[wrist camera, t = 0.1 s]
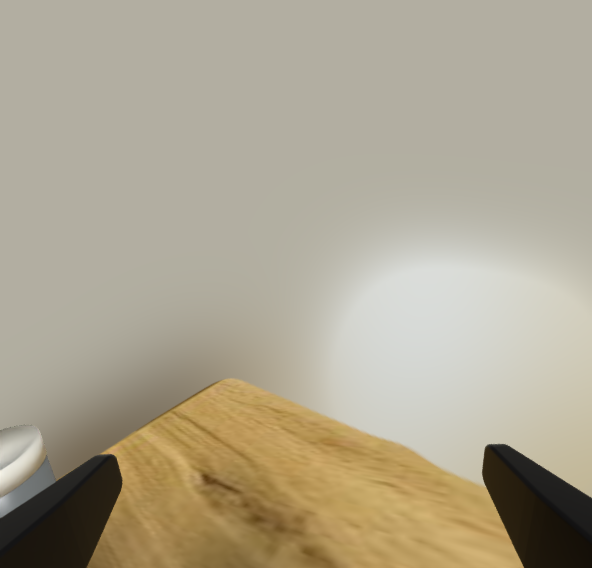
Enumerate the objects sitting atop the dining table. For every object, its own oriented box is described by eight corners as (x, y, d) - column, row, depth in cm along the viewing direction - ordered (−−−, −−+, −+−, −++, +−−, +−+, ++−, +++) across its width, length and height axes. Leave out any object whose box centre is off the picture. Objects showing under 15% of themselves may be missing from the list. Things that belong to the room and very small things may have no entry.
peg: (66, 682, 15) (-19, 491, 12) (-1, 679, 15) (-104, 492, 12) (114, 589, 18) (58, 424, 15) (58, 588, 19) (-8, 425, 15)
